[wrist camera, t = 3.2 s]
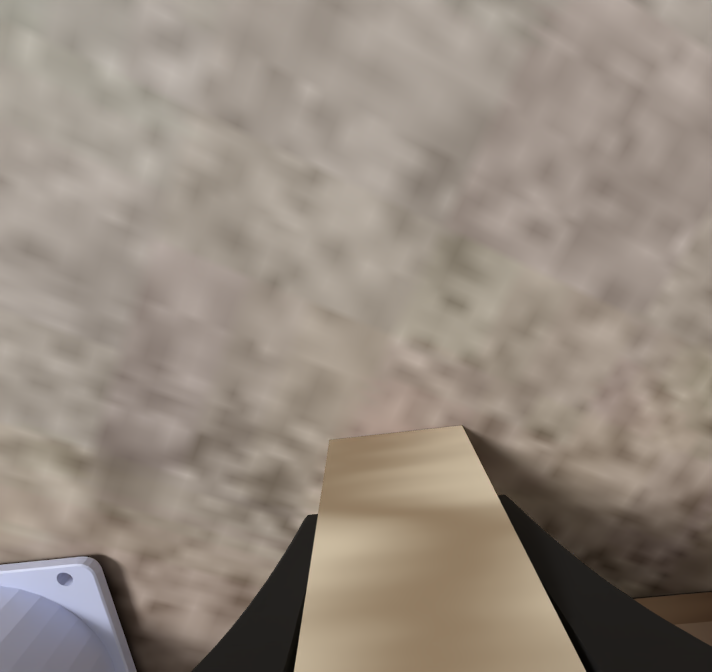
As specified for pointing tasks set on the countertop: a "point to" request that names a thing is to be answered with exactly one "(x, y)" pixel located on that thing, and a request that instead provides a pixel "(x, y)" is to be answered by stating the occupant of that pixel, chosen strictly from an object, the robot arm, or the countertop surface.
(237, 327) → the countertop surface
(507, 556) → the peg
